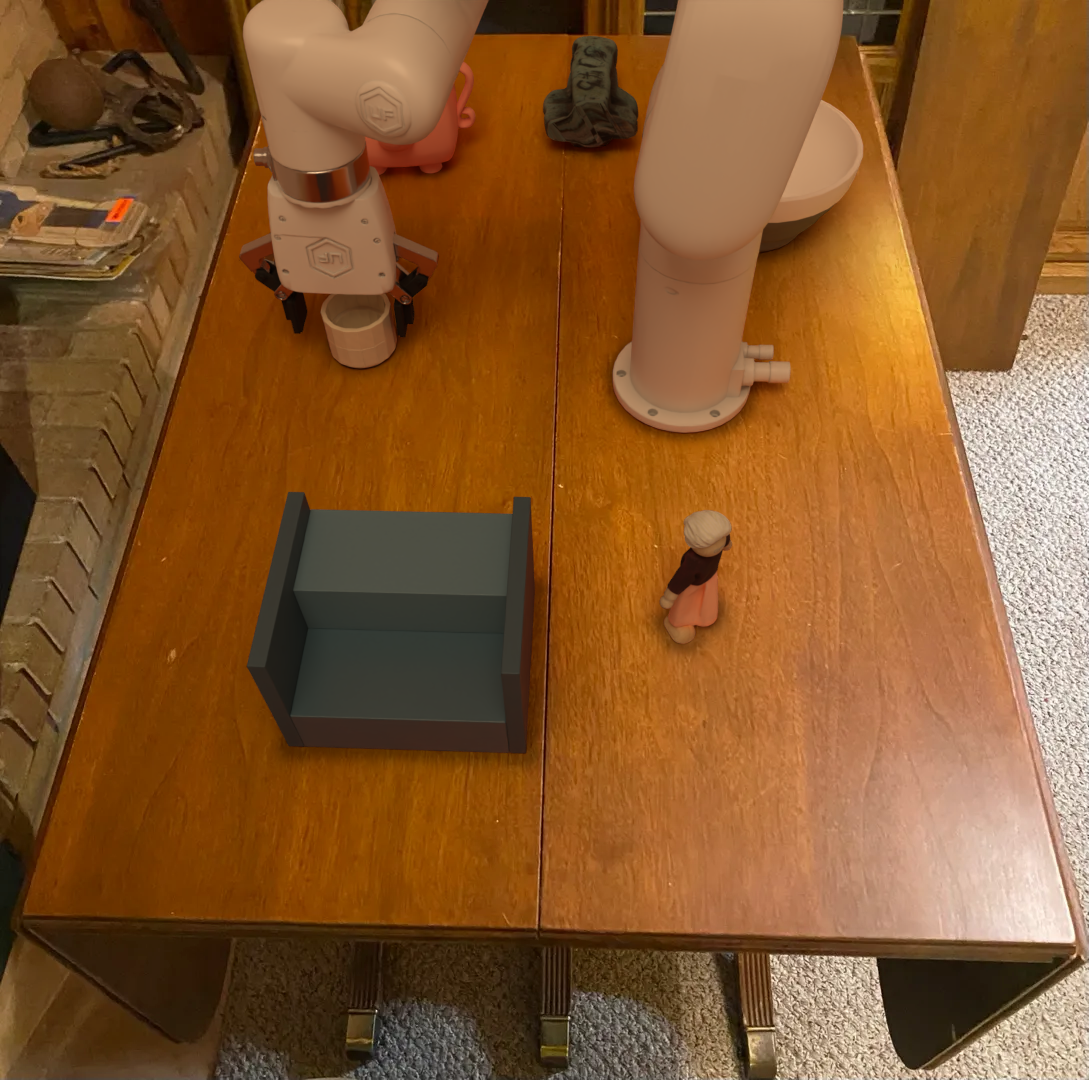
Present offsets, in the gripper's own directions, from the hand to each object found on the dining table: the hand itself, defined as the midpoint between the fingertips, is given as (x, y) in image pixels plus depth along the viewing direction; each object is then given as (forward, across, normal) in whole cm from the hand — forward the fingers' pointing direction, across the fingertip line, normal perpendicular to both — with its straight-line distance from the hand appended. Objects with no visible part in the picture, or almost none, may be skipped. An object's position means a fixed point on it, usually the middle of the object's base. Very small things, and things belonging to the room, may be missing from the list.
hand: (352, 325), depth 95 cm
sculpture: (+2, +22, +38) cm, 44 cm away
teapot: (+3, +1, +32) cm, 32 cm away
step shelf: (+2, +10, -34) cm, 36 cm away
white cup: (+3, +1, 0) cm, 3 cm away
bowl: (+2, +39, +20) cm, 44 cm away
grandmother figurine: (+2, +31, -29) cm, 42 cm away
